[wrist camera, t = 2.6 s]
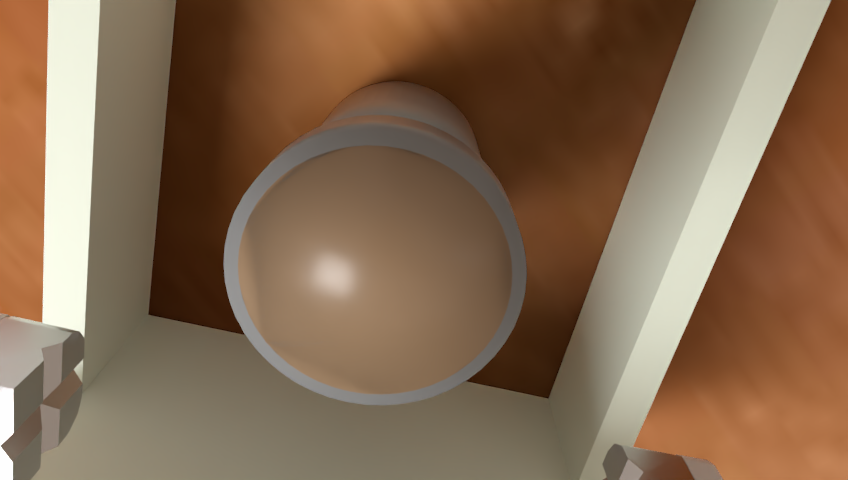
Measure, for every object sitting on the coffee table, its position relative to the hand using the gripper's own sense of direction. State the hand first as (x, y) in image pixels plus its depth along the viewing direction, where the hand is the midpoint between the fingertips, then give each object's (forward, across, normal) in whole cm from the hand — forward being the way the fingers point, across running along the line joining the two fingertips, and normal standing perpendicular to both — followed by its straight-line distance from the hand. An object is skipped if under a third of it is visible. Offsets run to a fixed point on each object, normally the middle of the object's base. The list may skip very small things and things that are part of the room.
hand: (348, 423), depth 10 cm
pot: (+13, 0, -1) cm, 13 cm away
